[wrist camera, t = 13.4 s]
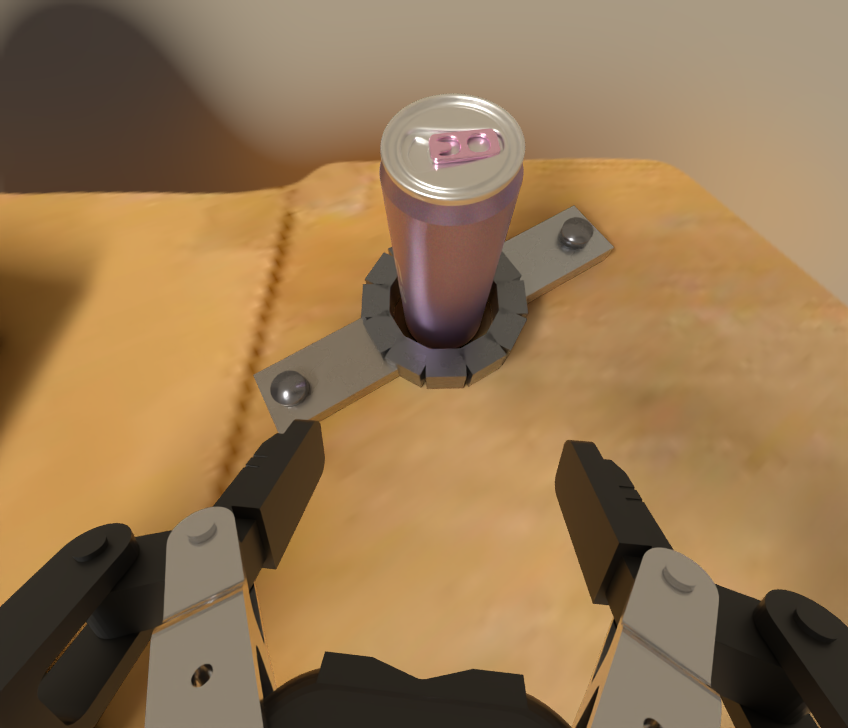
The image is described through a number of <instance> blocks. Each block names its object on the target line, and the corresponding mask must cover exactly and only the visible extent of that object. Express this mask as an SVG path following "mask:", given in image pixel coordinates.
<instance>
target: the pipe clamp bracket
mask: <svg viewBox="0 0 848 728" xmlns="http://www.w3.org/2000/svg"><path fill="white" fill-rule="evenodd" d="M613 248H614V247H613V246H612V245H611V244H610V243H609V242H608V241H607V239H606V238H605V237H604V236H603V235H602V234H601V233H600V232H599V231H598V230H597V229H596V228H595V227H594V226H593V225H592V224H591V223H590V222H589V221H588V220H587V219H586V218H585V216H584V215H583V214H582V213H581V212H580V211H579V210H578V209H577V208H576V207H575V206H572V207H570V208H568V209H566V210H564V211H563V212H561V213H559V214H557V215H555V216H553V217H551V218H549V219H547V220H546V221H544V222H542V223H540V224H538V225H536V226H534V227H532V228H530V229H529V230H527V231H525V232H523V233H521V234H519V235H517V236H515V237H513V238H512V239H510V240H508V241H506V242H504V245H503V248H502V252H501V255H500V259H499V262H498V265H497V269H496V272H495V276H494V279H493V282H492V286H491V289H490V293H489V296H488V299H487V301H488V302H489V304H490V307H491V319H492V324H491V326H490V328H489V330H488V331H487V333H486V334H485V335H483V336H481V337H480V338H478V339H476V340H474V341H473V342H471V343H469V344H467V345H466V346H464V347H462V348H456V349H429V348H427V347H425V346H423V345H421V344H419V343H417V342H415V341H413V340H411V339H409V338H407V337H405V336H404V335H403V334H402V332H401V330H400V329H399V327H398V326H397V324H396V323H395V321H394V307H395V306H396V304H397V303H398V301H399V299H400V298H401V293H400V287H399V282H398V276H397V270H396V265H395V259H394V254H393V248H392V247H391V248H389V249H388V251H389V254H386V253H383V254H382V256H381V257H380V259H379V260H378V261H377V263H376V264H375V266H374V267H373V268H372V270H371V271H370V273H369V274H368V275H367V277H366V278H365V281H366V284H363V294H362V312H361V318H360V319H358V320H357V321H355V322H353V323H351V324H349V325H347V326H345V327H343V328H341V329H340V330H338V331H336V332H334V333H332V334H330V335H328V336H326V337H324V338H323V339H321V340H319V341H317V342H315V343H313V344H311V345H309V346H307V347H305V348H304V349H302V350H300V351H298V352H296V353H294V354H292V355H290V356H288V357H287V358H285V359H283V360H281V361H279V362H277V363H275V364H273V365H271V366H270V367H268V368H266V369H264V370H262V371H260V372H258V373H256V374H254V375H253V376H254V378H255V380H256V383H257V385H258V387H259V389H260V392H261V394H262V396H263V398H264V401H265V403H266V405H267V408H268V410H269V412H270V414H271V417H272V419H273V421H274V423H275V426H276V428H277V430H278V433H281V434H284V432H285V431H286V430H287V428H288V427H289V426H290V424H291V423H292V422H293V420H295V419H302V420H315V421H321V420H323V419H325V418H326V417H328V416H330V415H332V414H333V413H335V412H337V411H339V410H340V409H342V408H344V407H346V406H347V405H349V404H351V403H353V402H355V401H356V400H358V399H360V398H362V397H363V396H365V395H367V394H369V393H370V392H372V391H374V390H376V389H377V388H379V387H381V386H383V385H384V384H386V383H388V382H390V381H392V380H393V379H395V378H397V377H399V376H401V377H403V378H405V379H406V380H408V381H410V382H412V383H414V384H416V385H418V386H419V387H422V385H423V383H424V381H425V380H426V385H427V389H444V388H463V386H464V383H465V382H466V383H467V385H468V386H470V385H472V384H474V383H476V382H477V381H479V380H481V379H482V378H484V377H486V376H487V375H489V374H491V373H492V372H494V371H496V370H497V369H499V367H500V366H501V364H502V365H503V363H504V361H505V360H506V358H507V356H508V354H509V353H510V351H511V349H512V347H513V345H514V343H515V341H516V339H517V338H518V336H519V334H520V332H521V330H522V328H523V326H524V324H525V322H526V320H527V319H526V316H527V314H528V309H527V303H529V302H531V301H533V300H534V299H536V298H538V297H540V296H541V295H543V294H545V293H547V292H548V291H550V290H552V289H554V288H555V287H557V286H559V285H561V284H562V283H564V282H566V281H568V280H570V279H571V278H573V277H575V276H577V275H578V274H580V273H582V272H584V271H585V270H587V269H589V268H591V267H592V266H594V265H596V264H598V263H600V262H601V261H603V260H605V258H606V257H607V256H608V254H609V253H610V252H611V251H612V249H613Z"/></svg>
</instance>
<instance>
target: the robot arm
mask: <svg viewBox="0 0 848 728" xmlns="http://www.w3.org/2000/svg"><path fill="white" fill-rule="evenodd" d="M324 462H325V456H324V448H323V440H322V433H321V426H320V423H319V421H315V420H302V419H295V420H293V422H292V423H291V424H290V426H289V427H288V428H287V430H286V431H285V432H284V434H281V433H277V434H275V435H274V436H272V437H271V438H269V439H268V440H266V441H265V442H264V443H262V445H261V446H260V447H259V449H258V450H257V451H256V452H255V454H254V456H253V457H251V459H250V460H249V461H248V463H247V464H246V467H245V468H243V469H242V470H241V471H240V473H239V474H238V475H237V477H236V478H235V479H234V480H233V482H232V483H231V484H230V485H229V487H228V488H227V489H226V491H225V492H224V493H223V494H222V496H221V497H220V498H219V499H218V501H217V502H216V503H215V505H214V506H213V507H210V508H205V509H202V510H199V511H197V512H195V513H193V514H191V515H189V516H188V517H186V518H185V519H183V520H182V521H181V522H180V523H179V524H178V525H177V526H176V527H175V528H174V529H173V530H171V531H166V532H160V533H155V534H150V535H144V536H139V537H134V535H133V533H132V531H131V529H130V528H129V527H128V526H127V525H125V524H120V523H112V524H106V525H102V526H99V527H96V528H94V529H91V530H89V531H87V532H85V533H83V534H81V535H79V536H78V537H76V538H75V539H73V540H72V541H70V542H69V543H68V544H66V545H65V546H64V547H63V548H62V549H61V550H60V551H59V552H58V553H57V554H55V555H54V556H53V557H52V558H51V559H50V560H49V561H48V562H47V563H46V564H45V565H44V566H43V567H42V568H41V569H40V570H39V571H38V572H36V573H35V574H34V575H33V576H32V577H31V578H30V579H29V580H28V581H27V582H26V583H25V584H24V585H23V586H22V587H21V588H20V589H19V590H17V591H16V592H15V593H14V594H13V595H12V596H11V597H10V598H9V599H8V600H7V601H6V602H5V603H4V604H3V605H2V606H1V607H0V728H94V726H95V725H96V723H97V722H98V720H99V719H100V717H101V715H102V714H103V712H104V711H105V709H106V708H107V706H108V704H109V703H110V701H111V700H112V698H113V697H114V695H115V693H116V692H117V690H118V689H119V687H120V686H121V684H122V683H123V681H124V679H125V678H126V676H127V675H128V673H129V672H130V670H131V668H132V667H133V665H134V664H135V662H136V661H137V659H138V657H139V656H140V654H141V653H142V651H143V650H144V648H145V647H146V645H147V643H148V642H149V640H150V639H151V644H150V658H149V672H148V687H147V701H146V715H145V728H720V724H721V708H722V707H721V699H722V701H723V703H724V705H725V707H726V709H727V711H728V713H729V716H730V718H731V720H732V722H733V724H734V726H735V728H818V726H817V725H816V723H815V721H814V720H813V718H812V717H811V715H810V714H809V712H811V713H812V714H813V716H814V717H815V719H816V721H817V722H818V724H819V725H820V727H821V728H848V627H847V626H846V625H845V624H844V623H843V622H842V621H841V620H839V619H838V618H837V617H836V616H835V615H833V614H832V613H831V612H829V611H828V610H827V609H825V608H824V607H822V606H821V605H819V604H817V603H816V602H814V601H812V600H810V599H808V598H807V597H804V596H802V595H800V594H797V593H794V592H791V591H787V590H779V589H778V590H772V591H770V592H768V593H767V594H766V596H765V597H764V598H763V599H762V601H760V600H757V599H754V598H752V597H749V596H746V595H744V594H741V593H738V592H735V591H733V590H730V589H727V588H724V587H722V586H719V585H717V584H714V582H713V581H712V579H711V578H710V576H709V575H708V574H707V573H706V572H705V571H704V570H703V569H702V568H701V567H700V566H699V565H698V564H697V563H695V562H694V561H693V560H691V559H690V558H688V557H686V556H685V555H683V554H681V553H679V552H676V551H674V550H673V548H672V547H671V545H670V544H669V542H668V540H667V539H666V537H665V536H664V534H663V532H662V531H661V529H660V527H659V526H658V524H657V523H656V521H655V519H654V518H653V516H652V515H651V513H650V511H649V510H648V508H647V506H646V505H645V503H644V502H642V498H641V497H640V495H639V494H638V492H637V490H635V489H634V485H633V484H632V482H631V481H630V479H629V477H628V476H627V474H626V473H625V472H624V471H623V470H622V469H621V468H620V467H619V466H617V465H616V464H615V463H614V462H613V461H612V460H606V459H603V457H602V456H601V454H600V452H599V450H598V449H597V447H596V445H595V444H594V443H593V442H587V441H574V440H567V441H566V442H565V444H564V447H563V451H562V454H561V458H560V462H559V465H558V469H557V473H556V477H555V491H556V496H557V499H558V502H559V505H560V508H561V511H562V514H563V517H564V520H565V523H566V526H567V528H568V531H569V534H570V537H571V540H572V543H573V546H574V549H575V552H576V555H577V558H578V561H579V564H580V567H581V570H582V573H583V576H584V579H585V582H586V585H587V587H588V590H589V593H590V596H591V599H592V602H593V604H602V605H609V606H610V609H611V611H612V614H613V619H612V621H611V623H610V626H609V629H608V632H607V635H606V637H605V640H604V643H603V646H602V649H601V651H600V654H599V657H598V660H597V663H596V665H595V668H594V671H593V674H592V677H591V679H590V682H589V685H588V688H587V690H586V693H585V695H584V698H583V700H582V703H581V705H580V707H579V710H578V712H577V714H576V717H575V720H574V722H573V725H572V727H571V726H570V725H569V724H568V723H567V722H566V721H565V720H564V719H563V718H562V717H561V716H560V715H559V714H557V713H556V712H555V711H554V710H552V709H551V708H550V707H548V706H547V705H546V704H544V703H543V702H541V701H540V700H538V699H536V698H535V697H533V696H531V695H529V694H527V693H526V691H525V684H524V677H523V675H520V674H512V673H503V672H495V671H486V670H478V669H471V670H466V671H462V672H457V673H452V674H448V675H443V676H439V677H434V678H429V679H418V678H415V677H413V676H411V675H409V674H407V673H405V672H403V671H401V670H398V669H396V668H394V667H392V666H390V665H388V664H386V663H384V662H382V661H380V660H377V659H375V658H373V657H367V656H359V655H350V654H342V653H333V652H325V654H324V657H323V661H322V664H321V668H320V669H315V670H312V671H309V672H306V673H304V674H301V675H299V676H297V677H295V678H293V679H291V680H289V681H288V682H286V683H285V684H283V685H282V686H280V687H279V688H277V686H276V682H275V677H274V673H273V669H272V665H271V661H270V657H269V652H268V648H267V642H266V637H265V631H264V626H263V621H262V615H261V610H260V605H259V599H258V594H257V589H256V584H255V580H256V578H257V576H258V574H259V572H260V570H261V568H269V569H277V566H278V564H279V562H280V560H281V558H282V556H283V554H284V552H285V550H286V548H287V546H288V544H289V542H290V540H291V537H292V535H293V533H294V531H295V529H296V527H297V525H298V523H299V521H300V519H301V517H302V515H303V513H304V511H305V508H306V506H307V504H308V502H309V500H310V498H311V496H312V494H313V492H314V490H315V488H316V486H317V484H318V482H319V479H320V477H321V475H322V472H323V469H324ZM85 622H87V625H86V626H85V628H84V629H83V630H82V631H81V633H80V634H79V635H78V636H77V637H76V639H75V640H74V641H73V642H72V644H71V645H70V646H69V647H68V649H67V650H66V651H65V652H64V654H63V655H62V656H61V657H60V658H59V660H58V661H57V662H56V663H55V665H54V666H53V667H52V668H51V670H50V671H49V672H48V673H47V675H46V676H45V677H44V678H43V680H42V681H41V679H42V677H43V675H44V673H45V672H46V670H47V669H48V667H49V666H50V665H51V664H52V662H53V661H54V660H55V659H56V657H57V656H58V655H59V654H60V653H61V651H62V650H63V649H64V648H65V646H66V645H67V644H68V643H69V641H70V640H71V639H72V638H73V637H74V635H75V634H76V633H77V632H78V630H79V629H80V628H81V627H82V626H83V624H84V623H85ZM40 681H41V682H40Z"/></svg>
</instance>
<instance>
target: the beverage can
mask: <svg viewBox="0 0 848 728" xmlns="http://www.w3.org/2000/svg"><path fill="white" fill-rule="evenodd" d="M524 154H525V140H524V136H523V133H522V130H521V128H520V126H519V125H518V123H517V121H516V120H515V119H514V118H513V117H512V115H511V114H509V113H508V112H507V111H506V110H505V109H503V108H502V107H500V106H499V105H497V104H495V103H493V102H491V101H489V100H486V99H483V98H480V97H476V96H471V95H466V94H441V95H435V96H431V97H427V98H424V99H421V100H418V101H416V102H414V103H412V104H410V105H408V106H406V107H405V108H403V109H402V110H401V111H400V112H398V113H397V114H396V115H395V116H394V117H393V118H392V119H391V121H390V122H389V123H388V125H387V127H386V128H385V131H384V133H383V136H382V139H381V164H380V181H381V186H382V192H383V197H384V203H385V209H386V214H387V220H388V226H389V231H390V237H391V242H392V248H393V254H394V259H395V265H396V270H397V276H398V282H399V287H400V293H401V298H402V304H403V310H404V315H405V321H406V325H407V328H408V330H409V332H410V333H411V335H412V336H413V337H414V338H415V339H416V340H417V341H418V342H419V343H421V344H423V345H424V346H426V347H429V348H432V349H455V348H458V347H460V346H462V345H464V344H466V343H467V342H468V341H470V340H471V339H472V338H473V337H474V335H475V334H476V333H477V331H478V329H479V326H480V323H481V320H482V316H483V313H484V310H485V306H486V303H487V299H488V296H489V293H490V289H491V286H492V282H493V279H494V276H495V272H496V269H497V265H498V262H499V259H500V255H501V252H502V248H503V245H504V242H505V238H506V235H507V231H508V228H509V225H510V221H511V218H512V214H513V211H514V208H515V204H516V201H517V197H518V194H519V191H520V187H521V184H522V180H523V159H524Z"/></svg>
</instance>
